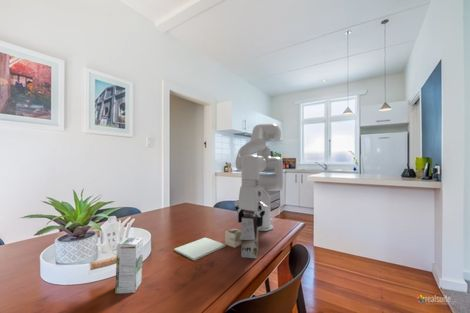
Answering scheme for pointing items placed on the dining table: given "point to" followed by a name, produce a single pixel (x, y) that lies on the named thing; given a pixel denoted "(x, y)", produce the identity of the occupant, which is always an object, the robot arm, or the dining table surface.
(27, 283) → the dining table surface
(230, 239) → the birch cube
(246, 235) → the coffee box
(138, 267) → the syrup box
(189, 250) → the sage mat
